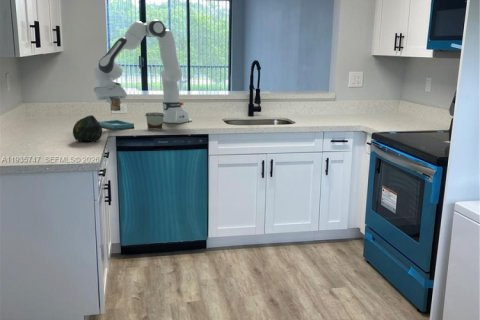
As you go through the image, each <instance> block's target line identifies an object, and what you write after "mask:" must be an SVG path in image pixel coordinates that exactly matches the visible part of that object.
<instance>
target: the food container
mask: <svg viewBox="0 0 480 320" xmlns="http://www.w3.org/2000/svg"><path fill="white" fill-rule="evenodd" d="M163 116H164V114H163V112H157V111H156V112H147V113H145V117H146V123H147V129H148V130H163V127H164V125H163V123H164V122H163Z"/></svg>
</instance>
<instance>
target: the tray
mask: <svg viewBox="0 0 480 320" xmlns="http://www.w3.org/2000/svg"><path fill="white" fill-rule="evenodd" d="M98 122H99V124H100V125H101V127H102V128H104V127H105V129H108V128H109V129H110V130H114V131H118V130H119V131H121V130H127V129H128V130H129V129H134V128H135V123H134V122H129V121H123V120H120V119H113V120H102V121H101V120H100V121H98Z"/></svg>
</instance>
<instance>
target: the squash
mask: <svg viewBox="0 0 480 320" xmlns="http://www.w3.org/2000/svg"><path fill="white" fill-rule="evenodd" d="M72 135H73V137H74V139H75V141H78V142H88V141H89V142H93V141H94V142H97V141H98V140H100V139H101V137H102V136H103V127H101V125H100V124H99V121H98V120H97V118H96V117H95V116H94V115H86V116H85V117H83V118H81V119H79V120H77V121H76V122H75V124H74V125H73V128H72Z"/></svg>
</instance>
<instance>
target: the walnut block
mask: <svg viewBox="0 0 480 320" xmlns="http://www.w3.org/2000/svg"><path fill="white" fill-rule="evenodd" d="M110 100H111V101H113V104H110V111H114V112H118V111H119V112H120V111H121V104H120V101H121V100H120V98H110Z"/></svg>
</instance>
